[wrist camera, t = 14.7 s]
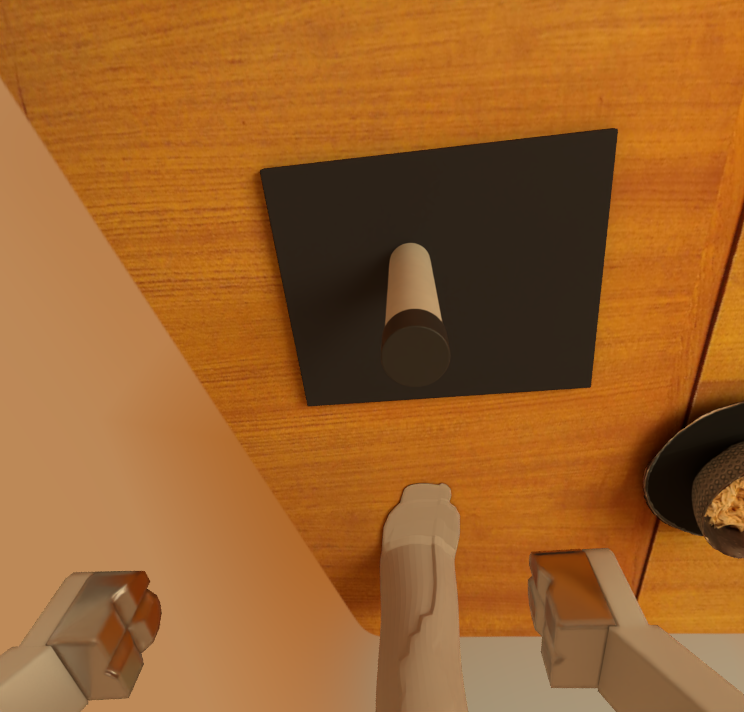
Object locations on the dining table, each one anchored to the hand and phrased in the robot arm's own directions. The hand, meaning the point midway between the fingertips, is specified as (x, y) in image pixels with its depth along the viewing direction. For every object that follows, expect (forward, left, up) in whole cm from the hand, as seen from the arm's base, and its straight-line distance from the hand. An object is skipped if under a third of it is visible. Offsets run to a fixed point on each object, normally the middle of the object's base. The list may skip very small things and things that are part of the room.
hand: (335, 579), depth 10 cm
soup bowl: (+28, -21, -27) cm, 44 cm away
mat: (+4, -3, -27) cm, 27 cm away
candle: (+1, -28, -27) cm, 39 cm away
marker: (+2, -1, -26) cm, 26 cm away
